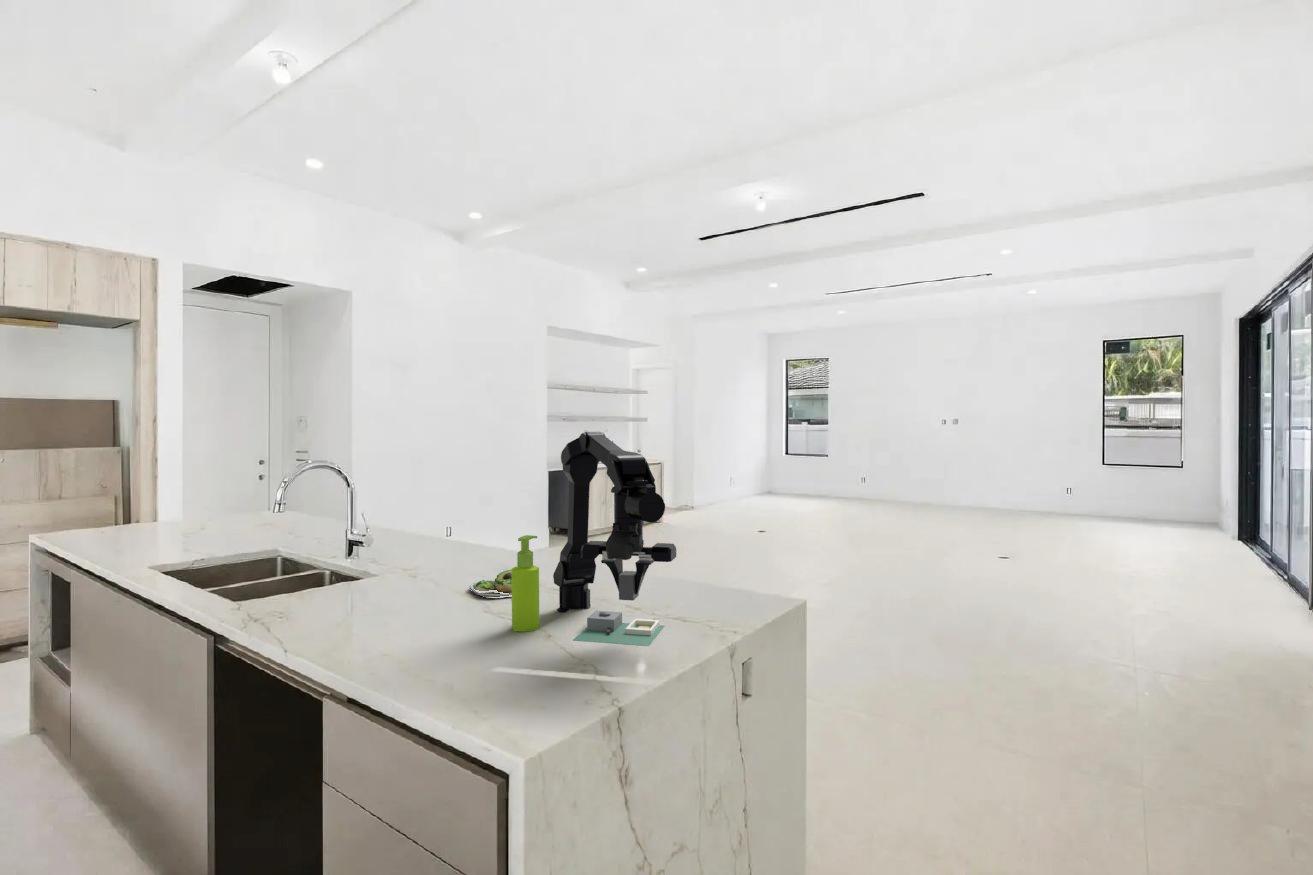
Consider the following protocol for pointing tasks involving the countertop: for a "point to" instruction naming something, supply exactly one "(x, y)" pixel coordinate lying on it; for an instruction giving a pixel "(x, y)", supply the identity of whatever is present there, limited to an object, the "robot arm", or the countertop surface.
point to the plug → (627, 585)
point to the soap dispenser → (525, 589)
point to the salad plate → (495, 585)
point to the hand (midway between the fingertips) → (628, 593)
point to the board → (619, 629)
